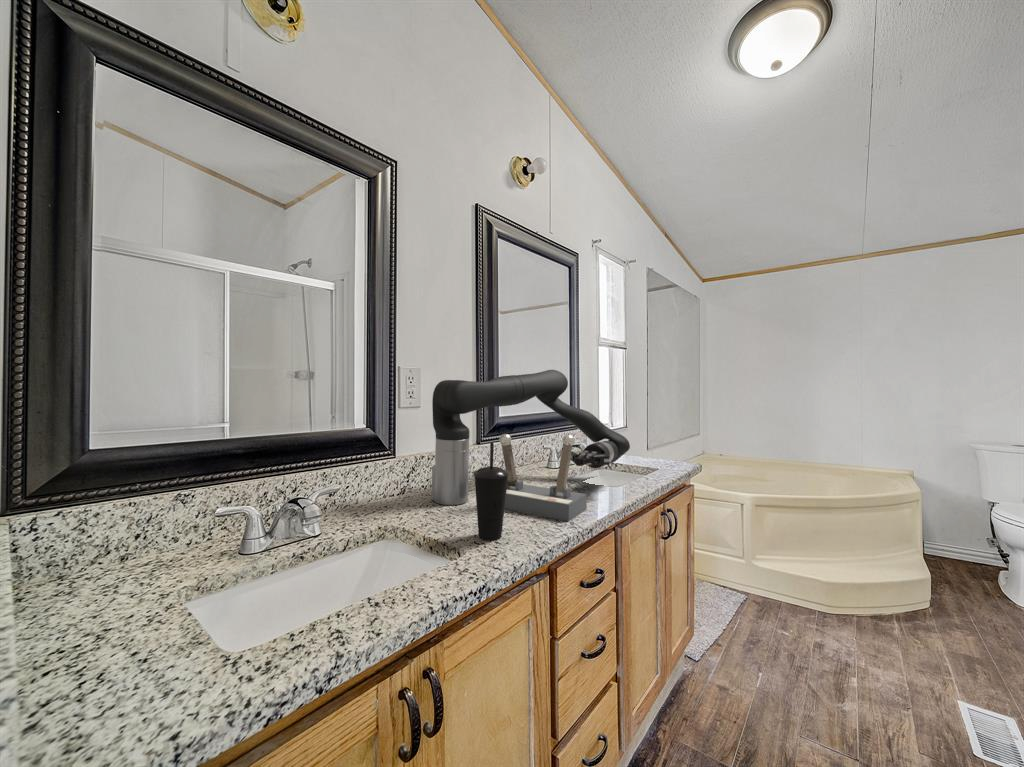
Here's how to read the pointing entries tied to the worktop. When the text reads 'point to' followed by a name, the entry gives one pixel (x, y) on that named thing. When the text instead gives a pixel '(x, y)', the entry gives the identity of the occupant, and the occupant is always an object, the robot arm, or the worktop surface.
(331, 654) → the worktop surface
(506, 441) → the lever
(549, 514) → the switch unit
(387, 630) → the worktop surface
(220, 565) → the worktop surface
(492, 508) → the drinking cup
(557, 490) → the lever
